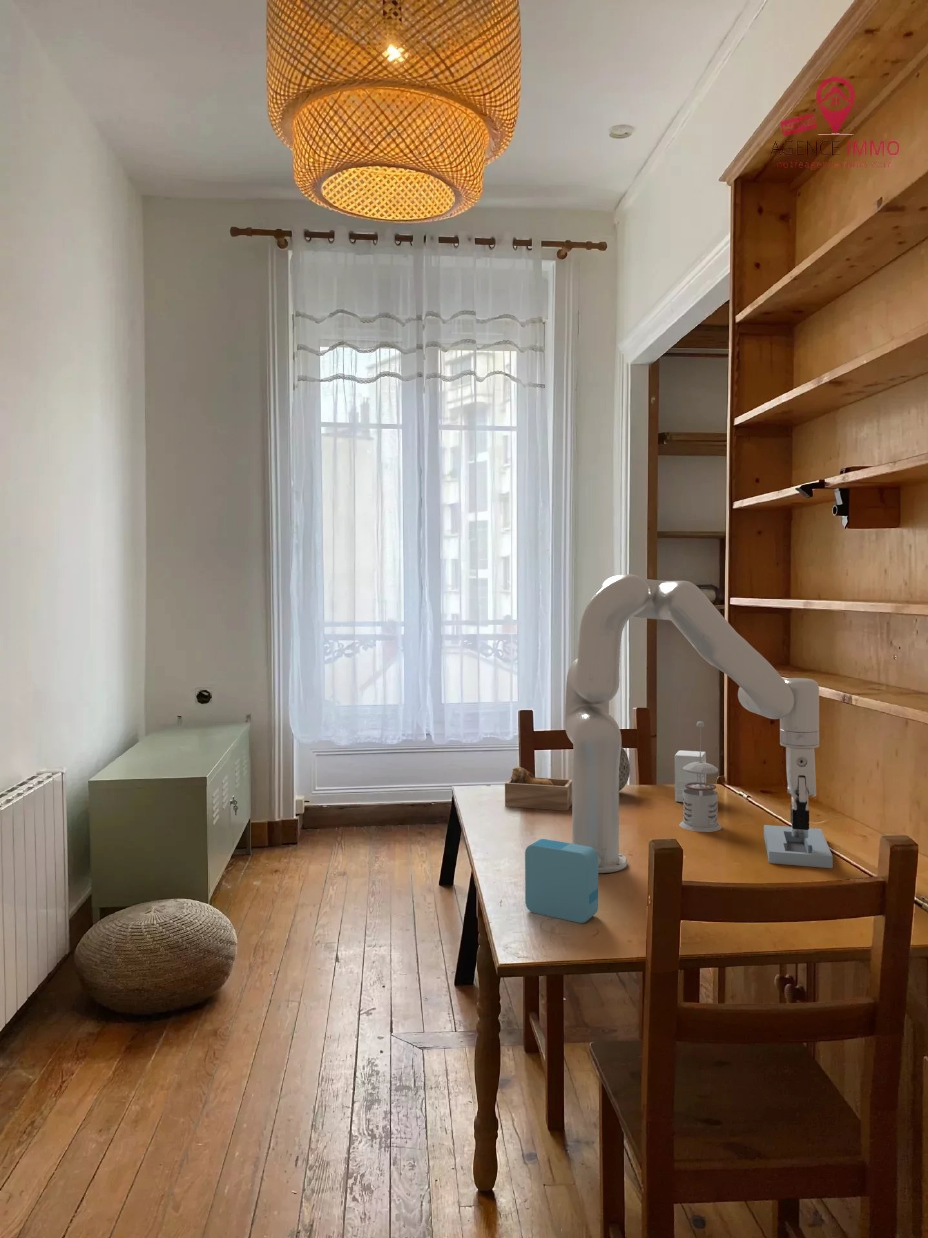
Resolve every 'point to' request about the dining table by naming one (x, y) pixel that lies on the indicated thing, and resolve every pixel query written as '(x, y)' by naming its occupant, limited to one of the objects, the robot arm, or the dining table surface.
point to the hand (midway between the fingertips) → (799, 825)
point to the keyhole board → (797, 847)
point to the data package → (561, 880)
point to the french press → (700, 798)
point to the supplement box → (685, 777)
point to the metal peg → (796, 832)
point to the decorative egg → (623, 769)
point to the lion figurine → (527, 777)
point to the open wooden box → (540, 794)
